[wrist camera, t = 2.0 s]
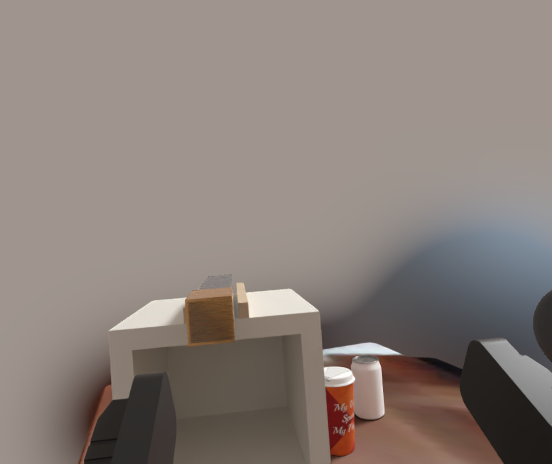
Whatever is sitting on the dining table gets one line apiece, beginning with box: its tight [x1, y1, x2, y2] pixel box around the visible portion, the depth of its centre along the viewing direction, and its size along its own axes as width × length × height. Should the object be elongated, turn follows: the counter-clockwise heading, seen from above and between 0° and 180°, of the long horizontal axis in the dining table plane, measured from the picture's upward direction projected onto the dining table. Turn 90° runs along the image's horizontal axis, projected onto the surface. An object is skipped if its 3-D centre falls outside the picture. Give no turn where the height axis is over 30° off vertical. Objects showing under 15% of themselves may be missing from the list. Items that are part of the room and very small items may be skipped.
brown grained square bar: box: [185, 274, 235, 347], centre depth 41 cm, size 3×24×3 cm, turn 6°
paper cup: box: [324, 367, 355, 456], centre depth 74 cm, size 8×8×14 cm
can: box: [351, 355, 384, 420], centre depth 87 cm, size 6×6×12 cm
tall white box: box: [108, 283, 331, 464], centre depth 47 cm, size 20×20×34 cm
